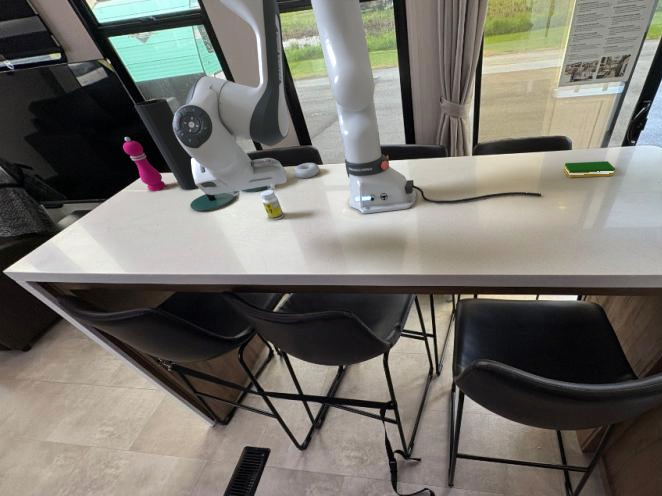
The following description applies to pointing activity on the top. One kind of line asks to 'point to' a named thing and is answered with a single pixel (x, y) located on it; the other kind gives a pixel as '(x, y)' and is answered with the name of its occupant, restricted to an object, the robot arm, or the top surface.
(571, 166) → the dish sponge
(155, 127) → the vase
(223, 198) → the lid
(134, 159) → the pepper mill
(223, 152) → the robot arm
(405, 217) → the top surface
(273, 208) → the supplement bottle
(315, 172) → the donut
